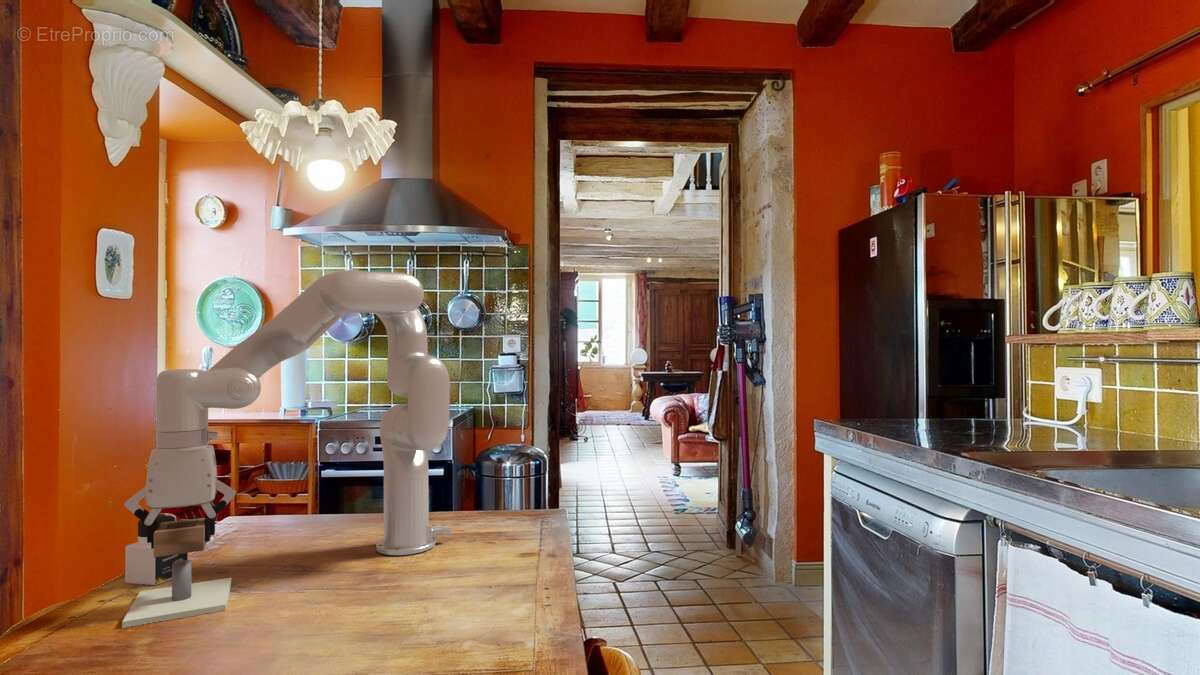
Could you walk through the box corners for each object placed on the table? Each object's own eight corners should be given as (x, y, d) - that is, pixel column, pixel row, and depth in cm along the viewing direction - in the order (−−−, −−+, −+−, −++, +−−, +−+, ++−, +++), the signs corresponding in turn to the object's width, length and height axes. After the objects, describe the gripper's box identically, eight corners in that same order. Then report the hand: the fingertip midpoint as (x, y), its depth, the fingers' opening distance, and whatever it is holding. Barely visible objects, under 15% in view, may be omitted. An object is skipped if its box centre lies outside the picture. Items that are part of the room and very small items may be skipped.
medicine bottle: (155, 586, 115) (156, 521, 115) (124, 583, 117) (124, 519, 117) (188, 572, 122) (188, 511, 122) (158, 570, 124) (158, 510, 124)
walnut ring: (207, 539, 112) (207, 517, 112) (203, 550, 106) (203, 527, 106) (160, 545, 109) (161, 522, 109) (153, 557, 102) (153, 532, 102)
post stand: (231, 582, 116) (231, 545, 117) (225, 610, 104) (225, 568, 104) (140, 597, 110) (140, 557, 110) (122, 628, 98) (122, 583, 98)
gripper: (241, 434, 115) (240, 530, 114) (125, 441, 107) (124, 544, 107) (238, 439, 108) (238, 541, 108) (115, 447, 100) (114, 557, 100)
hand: (181, 542), depth 107 cm, fingers closed on walnut ring, 7 cm apart
